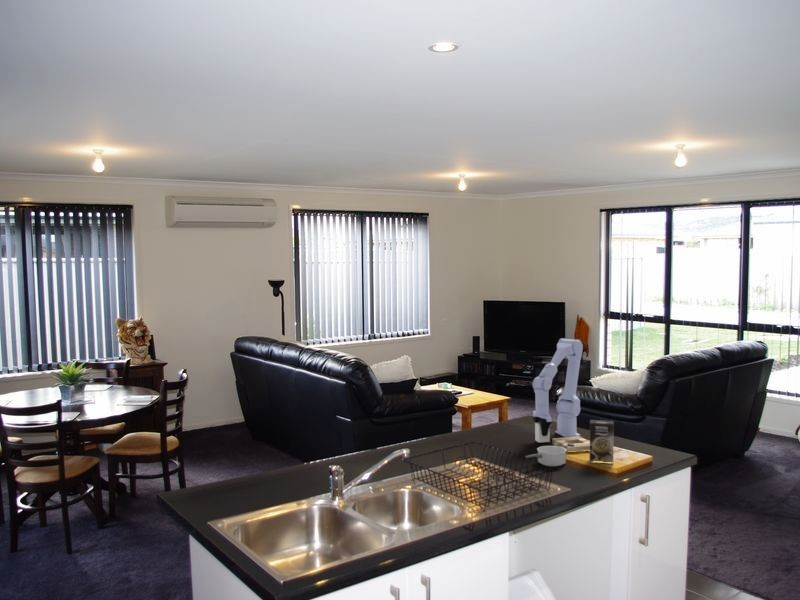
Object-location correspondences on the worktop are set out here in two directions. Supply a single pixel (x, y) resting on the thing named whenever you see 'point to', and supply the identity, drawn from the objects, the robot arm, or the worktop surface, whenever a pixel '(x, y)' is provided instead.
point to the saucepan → (550, 455)
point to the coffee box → (601, 440)
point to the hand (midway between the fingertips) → (542, 434)
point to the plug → (539, 436)
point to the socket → (572, 443)
